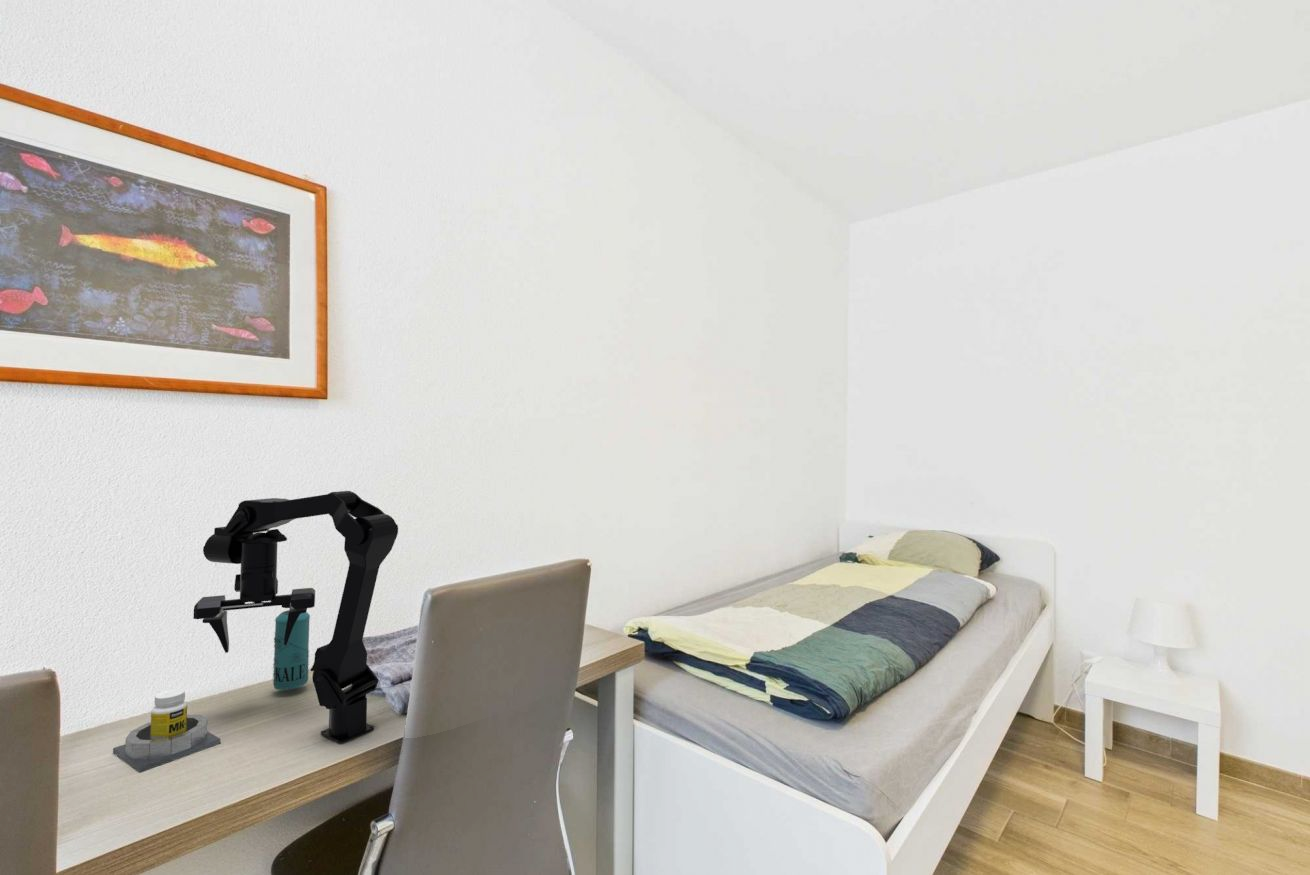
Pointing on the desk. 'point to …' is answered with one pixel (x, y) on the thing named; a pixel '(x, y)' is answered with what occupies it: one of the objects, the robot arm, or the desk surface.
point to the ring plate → (165, 744)
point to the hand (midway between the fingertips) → (256, 648)
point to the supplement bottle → (168, 714)
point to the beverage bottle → (291, 652)
